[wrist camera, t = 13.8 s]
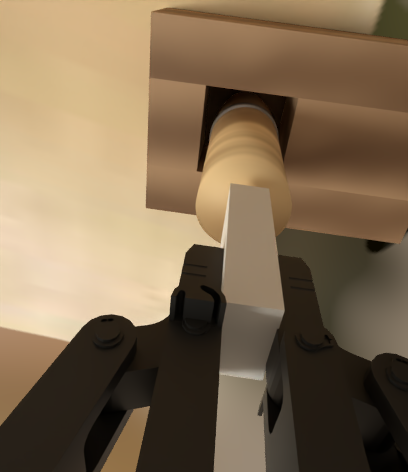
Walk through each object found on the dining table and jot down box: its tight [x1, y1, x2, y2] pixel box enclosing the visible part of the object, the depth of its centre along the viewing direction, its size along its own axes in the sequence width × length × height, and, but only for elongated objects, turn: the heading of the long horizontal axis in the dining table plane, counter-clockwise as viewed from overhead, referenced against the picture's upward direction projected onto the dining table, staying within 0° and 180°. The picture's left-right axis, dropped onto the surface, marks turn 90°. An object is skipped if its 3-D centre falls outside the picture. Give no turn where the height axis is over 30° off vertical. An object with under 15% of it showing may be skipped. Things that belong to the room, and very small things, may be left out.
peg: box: [196, 92, 292, 243], centre depth 22 cm, size 4×4×14 cm
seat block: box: [146, 8, 408, 244], centre depth 25 cm, size 12×18×5 cm, turn 84°
